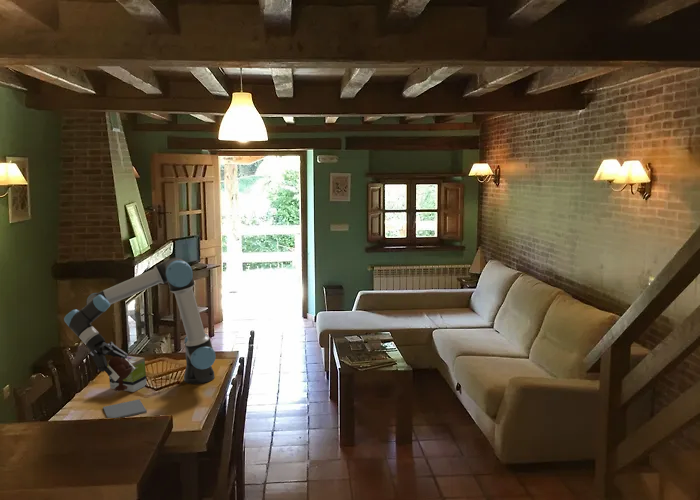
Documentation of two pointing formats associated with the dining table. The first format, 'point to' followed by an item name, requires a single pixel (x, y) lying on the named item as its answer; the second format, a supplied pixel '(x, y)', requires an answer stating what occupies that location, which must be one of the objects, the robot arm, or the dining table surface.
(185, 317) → the robot arm
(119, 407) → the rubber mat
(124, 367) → the ice cream bowl
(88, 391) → the dining table surface
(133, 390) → the tea box
